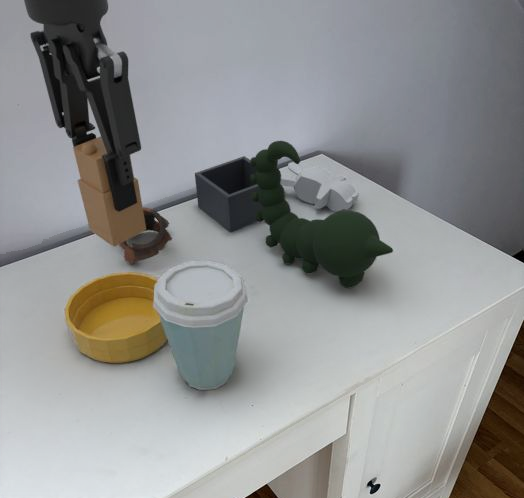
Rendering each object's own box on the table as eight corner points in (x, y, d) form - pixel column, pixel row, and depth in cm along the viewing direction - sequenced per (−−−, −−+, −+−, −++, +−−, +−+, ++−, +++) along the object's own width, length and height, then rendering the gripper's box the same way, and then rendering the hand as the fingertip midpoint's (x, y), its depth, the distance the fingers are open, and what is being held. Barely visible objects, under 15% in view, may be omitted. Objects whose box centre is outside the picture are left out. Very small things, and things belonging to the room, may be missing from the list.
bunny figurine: (342, 201, 94) (268, 169, 99) (337, 227, 98) (265, 194, 103) (368, 178, 100) (296, 148, 105) (361, 203, 104) (293, 173, 108)
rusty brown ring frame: (183, 236, 96) (179, 212, 88) (160, 284, 93) (154, 263, 85) (118, 210, 96) (108, 184, 88) (93, 257, 94) (81, 234, 86)
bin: (198, 207, 102) (194, 173, 97) (245, 189, 106) (244, 155, 101) (230, 232, 95) (228, 197, 91) (279, 212, 100) (279, 178, 95)
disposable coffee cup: (180, 340, 77) (165, 247, 66) (258, 348, 75) (255, 255, 65) (157, 399, 69) (136, 305, 59) (243, 409, 68) (237, 315, 57)
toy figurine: (245, 258, 93) (368, 316, 79) (231, 144, 81) (375, 188, 66) (284, 235, 98) (407, 286, 83) (277, 124, 85) (420, 161, 71)
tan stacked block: (88, 229, 71) (64, 137, 62) (120, 213, 74) (102, 123, 65) (114, 247, 68) (93, 153, 60) (146, 230, 71) (131, 137, 62)
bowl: (52, 332, 78) (43, 307, 75) (133, 284, 86) (128, 260, 83) (114, 381, 72) (106, 356, 68) (196, 325, 79) (193, 300, 76)
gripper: (155, -26, 49) (185, 211, 65) (41, -52, 58) (92, 163, 74) (81, -9, 45) (133, 239, 61) (-29, -39, 54) (42, 184, 70)
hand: (111, 197), depth 68 cm, fingers closed on tan stacked block, 5 cm apart
